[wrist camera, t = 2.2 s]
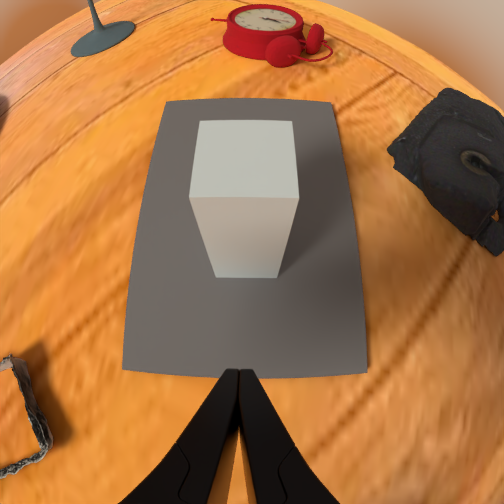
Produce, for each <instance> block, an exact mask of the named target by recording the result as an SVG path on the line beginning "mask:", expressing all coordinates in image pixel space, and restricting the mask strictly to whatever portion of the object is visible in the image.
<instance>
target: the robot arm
mask: <svg viewBox="0 0 504 504" xmlns="http://www.w3.org/2000/svg"><path fill="white" fill-rule="evenodd" d="M238 433H240V443H241V450H242V458H243V466H244V473H245V480H246V487H247V495H248V501H249V504H340V503H339V502H338V501H337V500H336V498H335V497H334V496H333V495H332V494H331V493H330V492H329V490H328V489H327V488H326V487H325V486H324V485H323V484H322V482H321V481H320V480H319V479H318V478H317V476H316V475H315V474H314V472H313V471H312V470H311V469H310V467H309V466H308V464H307V463H306V461H305V460H304V458H303V457H302V455H301V453H300V452H299V450H298V448H297V447H296V446H295V443H294V442H293V440H292V438H291V437H290V435H289V433H288V431H287V430H286V428H285V426H284V424H283V423H282V421H281V419H280V417H279V416H278V414H277V412H276V410H275V408H274V407H273V405H272V403H271V401H270V399H269V398H268V396H267V394H266V392H265V390H264V388H263V387H262V385H261V383H260V381H259V379H258V377H257V376H256V374H255V372H254V370H253V369H240V371H239V369H237V368H227V369H226V370H225V371H224V372H223V374H222V375H221V377H220V378H219V380H218V381H217V383H216V384H215V386H214V387H213V389H212V390H211V392H210V393H209V395H208V396H207V398H206V399H205V400H204V402H203V403H202V405H201V406H200V408H199V409H198V411H197V412H196V414H195V415H194V416H193V418H192V419H191V421H190V422H189V424H188V425H187V426H186V428H185V429H184V431H183V432H182V434H181V435H180V436H179V438H178V439H177V441H176V443H174V445H173V446H172V447H171V449H170V450H169V452H168V453H167V454H166V455H165V457H164V458H163V459H162V460H161V462H160V463H159V464H158V465H157V466H156V467H155V468H154V470H153V471H152V472H151V473H150V474H149V475H148V476H147V477H146V478H145V479H144V480H143V481H142V482H141V483H140V484H139V485H138V486H137V487H136V488H135V489H134V490H133V491H132V492H131V493H129V494H128V495H127V496H126V497H125V498H124V499H123V500H122V501H121V502H119V503H118V504H227V499H228V493H229V487H230V482H231V476H232V470H233V464H234V458H235V452H236V446H237V440H238Z"/></svg>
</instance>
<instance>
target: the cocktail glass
mask: <svg viewBox="0 0 504 504" xmlns="http://www.w3.org/2000/svg"><path fill="white" fill-rule="evenodd" d="M88 4H89V7H90V10H91V14H92V18H93V22H94V30H92V31H91V32H89V33H87V34H86V35H84V36H83V37H81V38H80V39H79V40H78V41H77V42H76V43H75V44H74V45H73V47H72V48H71V54H72V55H73V56H75V57H84V56H89V55H93V54H96V53H99V52H102V51H104V50H106V49H108V48H110V47H113V46H114V45H116V44H118V43H120V42H121V41H123V40H124V39H126V38H127V37H128V36H129V35H130V34H131V33H132V32H133V30H134V24H133V23H132V22H129V21H119V22H114V23H110V24H106V25H104V26H103V25H102V23H101V22H100V20H99V18H98V15H97V13H96V10H95V7H94V4H93V1H92V0H88Z"/></svg>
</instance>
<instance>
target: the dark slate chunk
mask: <svg viewBox="0 0 504 504" xmlns="http://www.w3.org/2000/svg"><path fill="white" fill-rule="evenodd" d="M387 151H388V153H389V154H390V155H391V156H393V157H394V160H395V164H394V167H393V168H394V169H395V170H397V171H398V172H400V173H401V174H402V175H404V176H405V177H406V178H407V179H408V180H409V181H411V182H412V183H413V184H415V185H416V186H417V187H418V188H419V189H421V190H422V191H423V193H424V194H425V196H426V197H427V199H428V201H429V202H430V203H431V205H432V206H433V207H434V208H436V209H437V210H438V211H439V212H440V213H441V214H442V215H443V216H444V217H445V218H447V219H448V220H449V221H450V222H451V223H452V224H453V225H454V226H456V227H457V228H458V229H459V230H460V231H461V232H462V233H463V234H464V235H469V236H471V238H472V240H475V239H476V240H477V242H479V243H480V245H481V246H482V247H483V246H484V245H485V246H486V247H487V248H488V250H489V251H490V252H493V254H494V255H495V256H498V255H499V254H501V253H502V252H503V251H504V117H503V116H502V115H501V113H500V112H499V111H497V110H496V109H495V108H493V107H491V106H489V105H487V104H486V103H484V102H481V101H480V100H476V99H473V98H470V97H469V96H467V95H466V94H464V93H462V92H460V91H458V90H454V89H452V88H445V89H443V90H442V91H441V92H439V94H438V96H437V98H434V99H433V100H432V101H431V102H430V103H429V104H428V105H427V106H425V107H424V108H423V110H421V111H420V113H419V115H417V116H416V117H415V119H414V120H412V121H411V123H410V124H409V126H407V127H406V128H405V130H404V131H403V132H402V133H401V134H400V135H399V137H397V138H396V139H395V140H394V141H393V142H392V144H391V145H390V146H389V147H388V148H387ZM496 210H497V211H498V214H499V220H498V221H497V222H496V221H495V220H494V219H493V218H492V217H491V216H492V215H494V214H495V212H496Z"/></svg>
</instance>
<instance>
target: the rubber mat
mask: <svg viewBox="0 0 504 504" xmlns="http://www.w3.org/2000/svg"><path fill="white" fill-rule="evenodd" d="M209 120H276V121H292V126H293V135H294V145H295V155H296V166H297V177H298V189H299V201H298V205H297V208H296V212H295V216H294V219H293V223H292V226H291V230H290V234H289V237H288V241H287V244H286V248H285V251H284V255H283V258H282V262H281V265H280V269H279V272H278V276H277V278H217V277H216V276H215V273H214V270H213V268H212V265H211V262H210V259H209V256H208V253H207V250H206V247H205V244H204V242H203V239H202V236H201V233H200V230H199V227H198V224H197V221H196V218H195V215H194V212H193V209H192V205H191V202H190V199H189V193H190V185H191V177H192V170H193V163H194V156H195V149H196V142H197V136H198V129H199V123H200V121H209ZM227 368H237V369H239V371H240V369H253V370H254V372H255V374H256V376H257V377H258V378H304V377H323V376H337V375H349V374H360V373H367V345H366V326H365V311H364V298H363V287H362V277H361V267H360V259H359V250H358V242H357V235H356V228H355V221H354V214H353V208H352V201H351V195H350V190H349V184H348V178H347V173H346V168H345V163H344V158H343V153H342V148H341V143H340V139H339V134H338V130H337V125H336V121H335V117H334V113H333V109H332V105H331V103H330V102H320V101H307V100H292V99H267V98H220V99H196V100H180V101H168V102H166V105H165V108H164V111H163V115H162V119H161V122H160V126H159V130H158V133H157V137H156V141H155V145H154V149H153V153H152V157H151V162H150V166H149V170H148V175H147V179H146V184H145V189H144V194H143V199H142V204H141V209H140V215H139V220H138V226H137V232H136V238H135V244H134V251H133V257H132V265H131V272H130V280H129V288H128V297H127V307H126V318H125V330H124V345H123V363H122V369H123V370H130V371H139V372H147V373H157V374H168V375H180V376H195V377H214V378H220V377H221V375H222V374H223V372H224V371H225V370H226V369H227Z"/></svg>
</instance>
